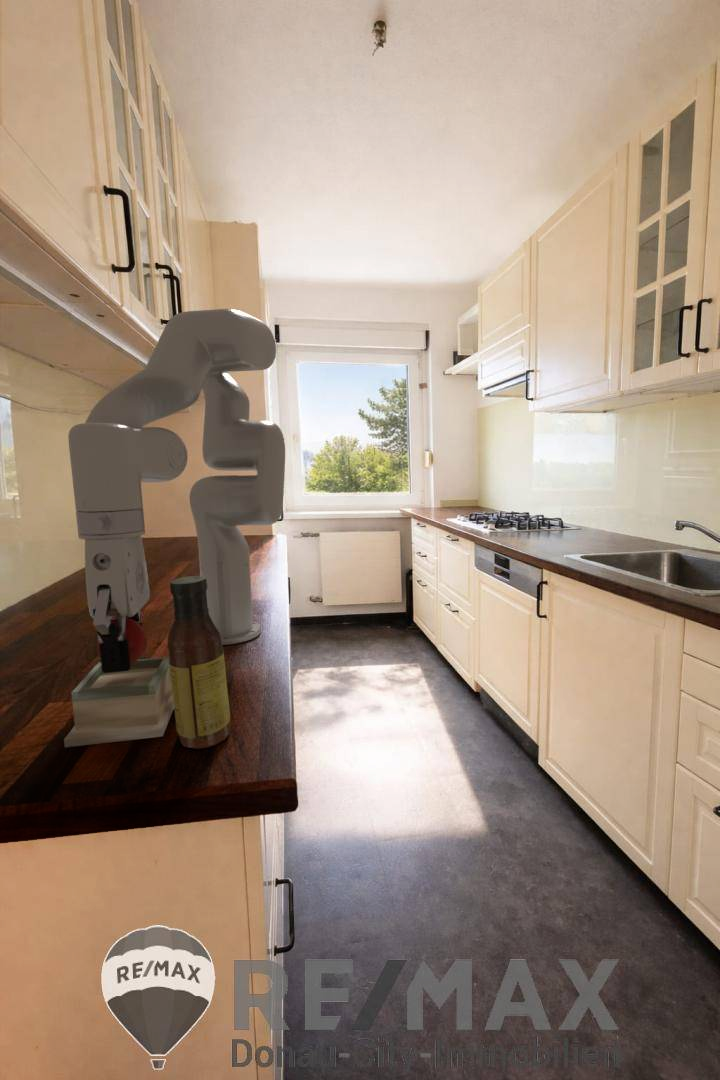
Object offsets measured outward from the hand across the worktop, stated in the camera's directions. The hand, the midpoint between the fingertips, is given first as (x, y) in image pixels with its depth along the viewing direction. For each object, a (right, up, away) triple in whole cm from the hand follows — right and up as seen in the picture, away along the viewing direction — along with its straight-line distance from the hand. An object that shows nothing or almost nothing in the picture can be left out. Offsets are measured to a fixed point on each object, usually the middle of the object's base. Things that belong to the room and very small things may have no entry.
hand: (124, 659), depth 63 cm
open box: (0, -8, +1) cm, 8 cm away
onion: (0, -2, 0) cm, 2 cm away
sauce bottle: (+12, -9, -4) cm, 15 cm away
